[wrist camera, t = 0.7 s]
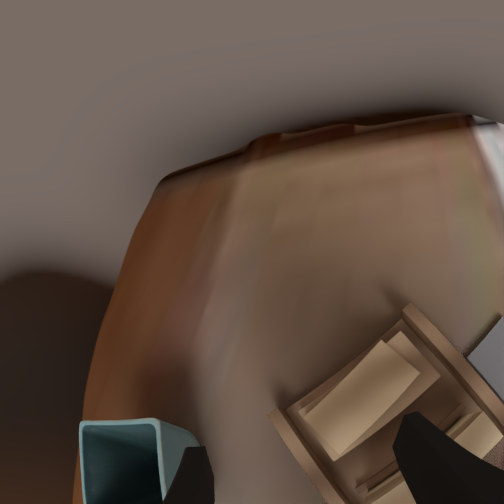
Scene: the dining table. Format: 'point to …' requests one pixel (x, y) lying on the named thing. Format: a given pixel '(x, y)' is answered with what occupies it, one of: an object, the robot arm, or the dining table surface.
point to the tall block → (462, 431)
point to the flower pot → (130, 459)
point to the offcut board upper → (362, 397)
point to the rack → (380, 443)
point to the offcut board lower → (412, 393)
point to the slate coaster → (491, 359)
